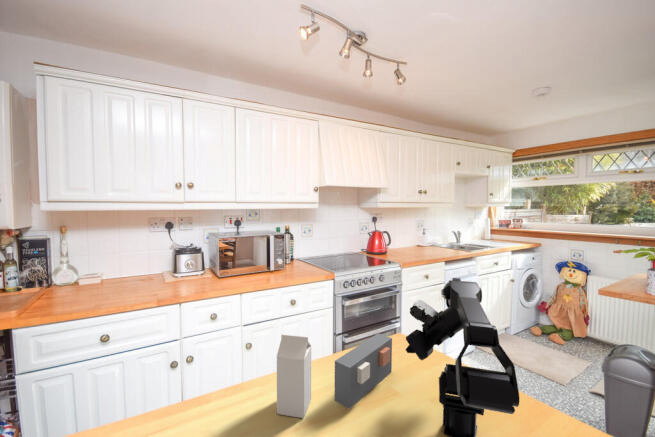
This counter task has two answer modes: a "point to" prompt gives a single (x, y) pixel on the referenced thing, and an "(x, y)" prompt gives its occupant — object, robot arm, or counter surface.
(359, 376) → the cream button
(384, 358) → the terracotta button
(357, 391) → the console
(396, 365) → the counter surface
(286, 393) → the milk carton
